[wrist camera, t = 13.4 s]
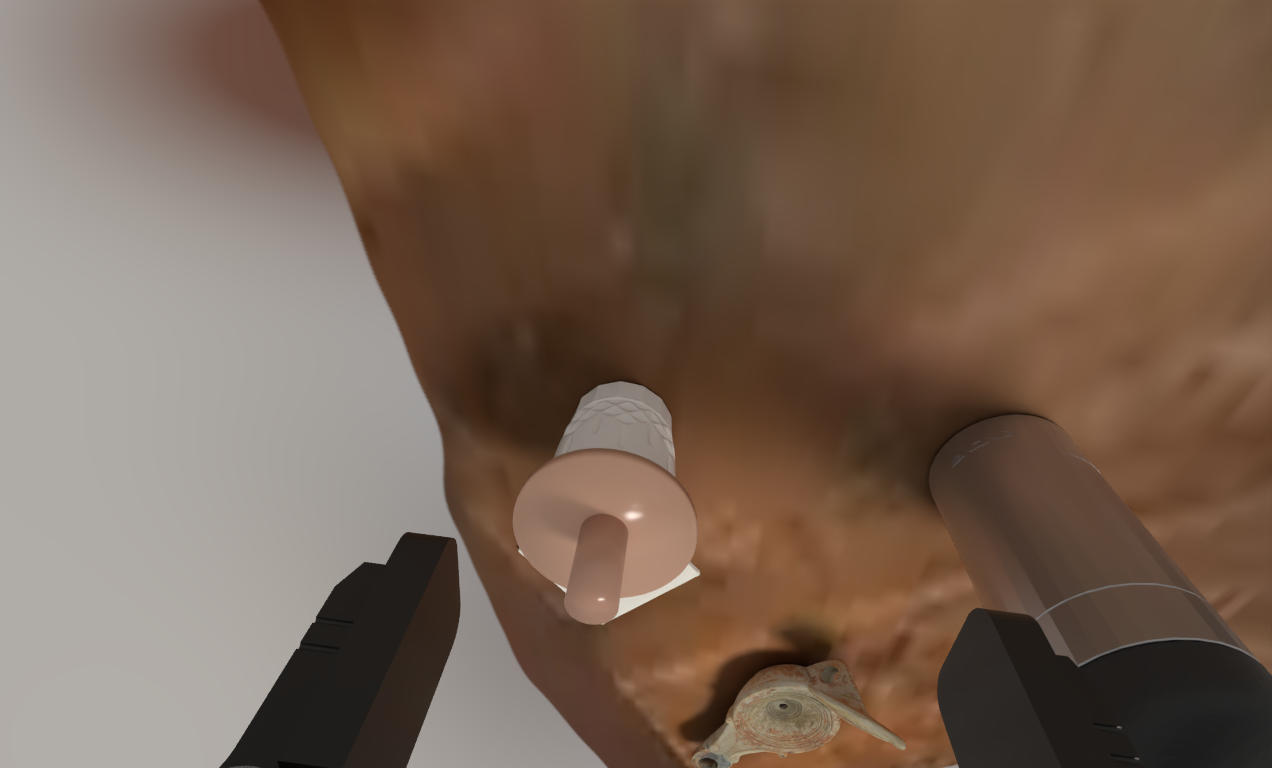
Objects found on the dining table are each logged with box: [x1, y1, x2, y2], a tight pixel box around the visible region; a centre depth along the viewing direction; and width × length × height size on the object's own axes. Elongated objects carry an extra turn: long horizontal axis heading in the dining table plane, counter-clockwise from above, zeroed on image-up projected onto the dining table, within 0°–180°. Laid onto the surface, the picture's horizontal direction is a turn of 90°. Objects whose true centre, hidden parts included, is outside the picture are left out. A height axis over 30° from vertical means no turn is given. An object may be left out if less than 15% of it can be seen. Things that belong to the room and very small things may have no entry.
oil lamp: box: [692, 659, 906, 768], centre depth 53 cm, size 9×21×10 cm, turn 142°
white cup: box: [554, 381, 676, 478], centre depth 41 cm, size 8×8×10 cm
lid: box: [513, 448, 697, 624], centre depth 34 cm, size 10×10×6 cm
